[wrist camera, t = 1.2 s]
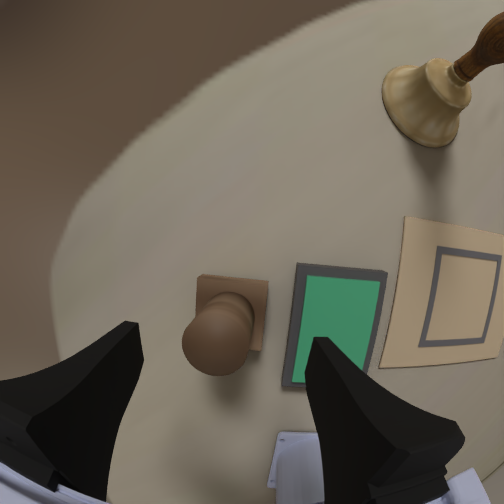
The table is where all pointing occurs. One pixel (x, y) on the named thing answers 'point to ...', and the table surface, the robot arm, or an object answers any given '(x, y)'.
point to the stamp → (225, 323)
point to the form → (446, 296)
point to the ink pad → (333, 315)
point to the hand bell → (440, 89)
